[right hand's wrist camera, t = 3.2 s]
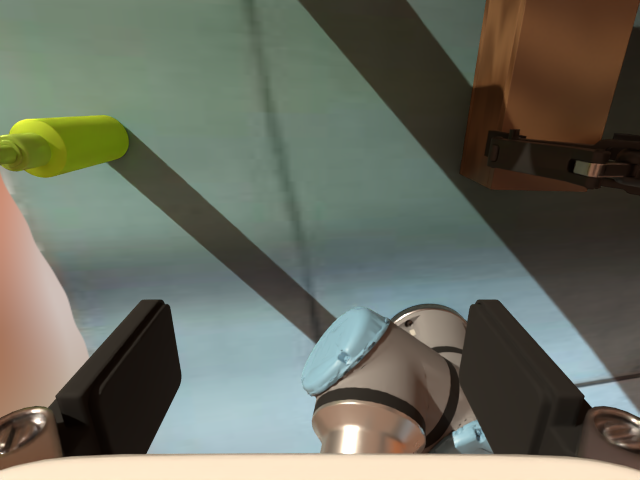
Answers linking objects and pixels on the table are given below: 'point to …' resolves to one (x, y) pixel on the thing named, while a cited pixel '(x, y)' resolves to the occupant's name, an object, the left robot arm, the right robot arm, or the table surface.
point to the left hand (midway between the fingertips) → (551, 144)
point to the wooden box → (544, 79)
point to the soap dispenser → (62, 144)
